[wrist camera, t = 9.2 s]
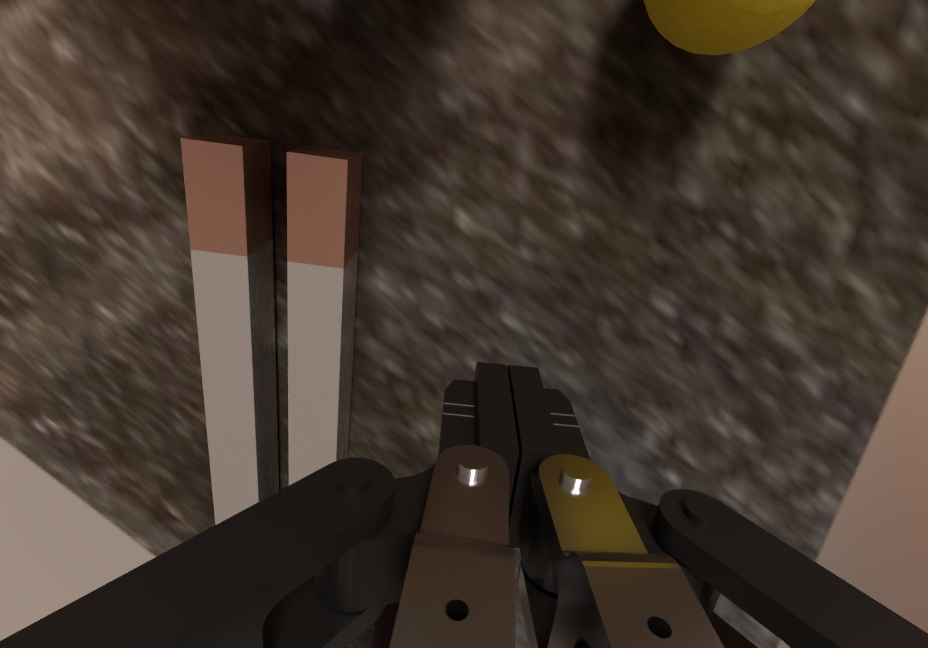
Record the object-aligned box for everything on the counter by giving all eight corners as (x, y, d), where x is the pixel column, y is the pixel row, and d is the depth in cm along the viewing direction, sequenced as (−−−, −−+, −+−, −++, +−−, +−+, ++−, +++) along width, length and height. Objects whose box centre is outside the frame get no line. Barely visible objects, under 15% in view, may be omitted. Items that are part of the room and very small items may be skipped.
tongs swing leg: (355, 508, 32) (342, 553, 29) (296, 501, 32) (277, 545, 28) (377, 154, 23) (361, 162, 20) (297, 143, 23) (269, 150, 20)
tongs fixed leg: (350, 546, 33) (338, 587, 30) (241, 534, 32) (220, 575, 30) (368, 153, 23) (354, 160, 20) (216, 133, 23) (180, 138, 20)
